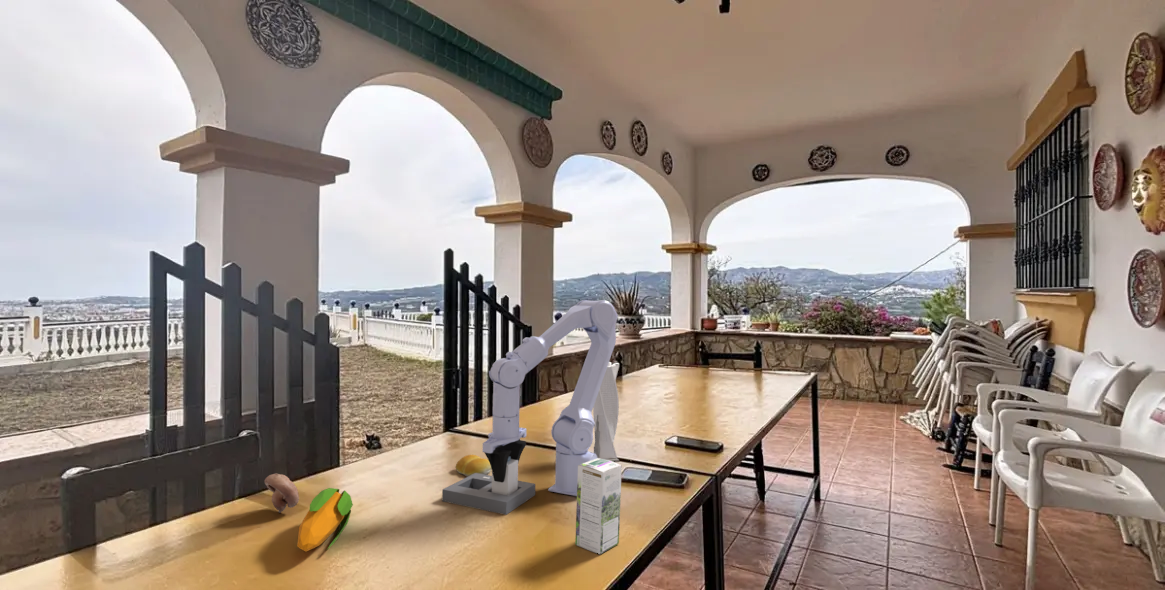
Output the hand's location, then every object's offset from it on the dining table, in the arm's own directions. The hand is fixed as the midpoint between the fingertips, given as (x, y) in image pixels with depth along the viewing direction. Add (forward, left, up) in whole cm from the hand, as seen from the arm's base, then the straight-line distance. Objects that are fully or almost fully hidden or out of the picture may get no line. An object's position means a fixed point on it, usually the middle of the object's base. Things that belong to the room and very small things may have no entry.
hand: (505, 477), depth 113 cm
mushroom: (+36, +25, -5) cm, 44 cm away
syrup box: (-26, +10, -5) cm, 28 cm away
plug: (0, 0, -3) cm, 3 cm away
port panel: (+4, 0, -5) cm, 6 cm away
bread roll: (+17, -13, -5) cm, 22 cm away
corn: (+19, +30, -5) cm, 36 cm away
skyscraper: (-8, -39, -5) cm, 40 cm away
